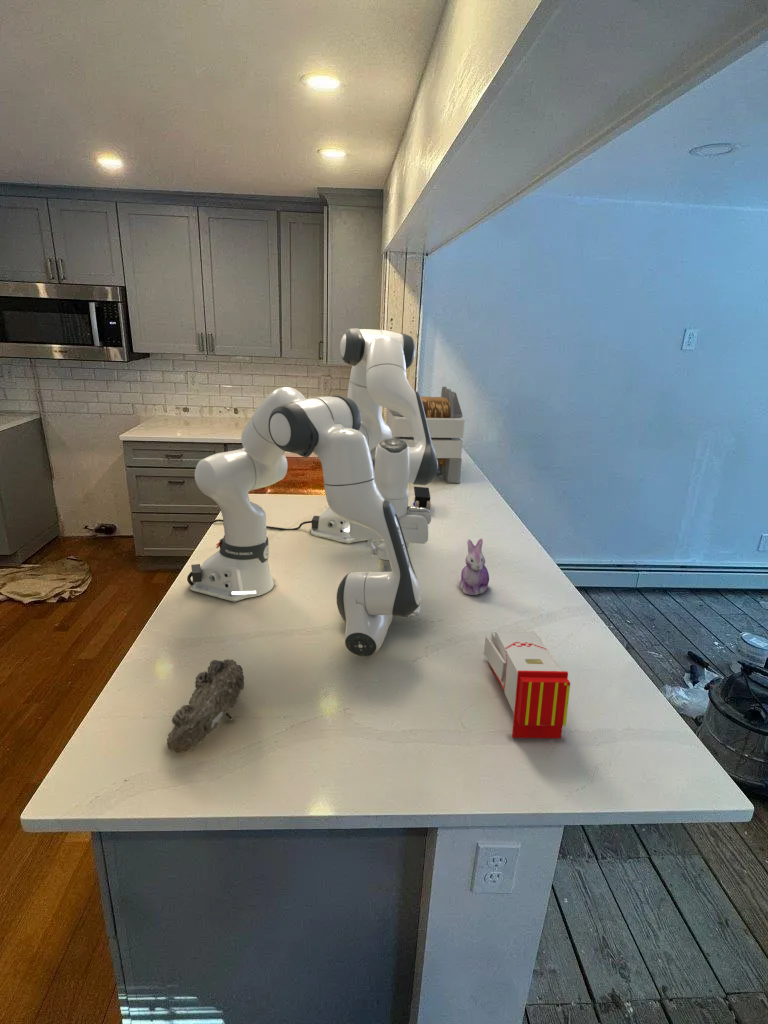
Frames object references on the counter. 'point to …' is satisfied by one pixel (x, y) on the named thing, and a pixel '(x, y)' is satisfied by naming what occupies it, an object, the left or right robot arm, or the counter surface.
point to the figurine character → (422, 497)
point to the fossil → (206, 705)
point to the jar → (384, 565)
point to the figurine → (474, 571)
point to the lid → (382, 552)
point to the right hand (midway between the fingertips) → (387, 555)
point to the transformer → (437, 431)
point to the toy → (529, 683)
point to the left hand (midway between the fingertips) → (387, 585)
